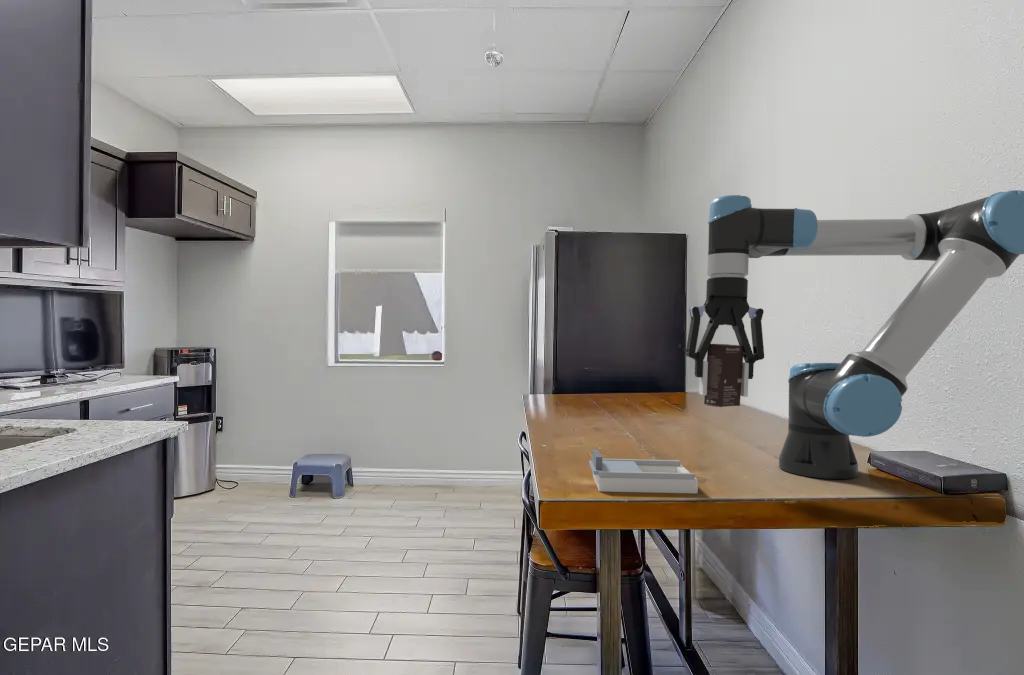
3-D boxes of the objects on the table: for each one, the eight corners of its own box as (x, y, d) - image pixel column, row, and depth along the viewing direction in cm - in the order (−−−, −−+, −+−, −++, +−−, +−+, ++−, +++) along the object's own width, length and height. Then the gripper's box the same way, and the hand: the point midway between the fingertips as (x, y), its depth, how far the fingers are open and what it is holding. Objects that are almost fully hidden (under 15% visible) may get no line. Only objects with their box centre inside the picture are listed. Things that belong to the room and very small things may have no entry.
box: (722, 408, 111) (725, 344, 111) (703, 405, 115) (705, 343, 115) (742, 406, 115) (745, 344, 115) (723, 403, 119) (725, 343, 118)
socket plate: (681, 477, 120) (681, 459, 120) (697, 493, 108) (697, 474, 108) (592, 475, 121) (592, 458, 121) (599, 491, 109) (599, 472, 109)
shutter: (633, 464, 119) (634, 449, 119) (641, 475, 110) (642, 459, 110) (589, 463, 119) (589, 448, 119) (593, 474, 110) (593, 458, 110)
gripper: (771, 280, 118) (767, 394, 118) (670, 277, 119) (667, 391, 119) (787, 277, 110) (783, 399, 111) (679, 274, 111) (675, 395, 112)
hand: (723, 395), depth 115 cm, fingers closed on box, 7 cm apart
